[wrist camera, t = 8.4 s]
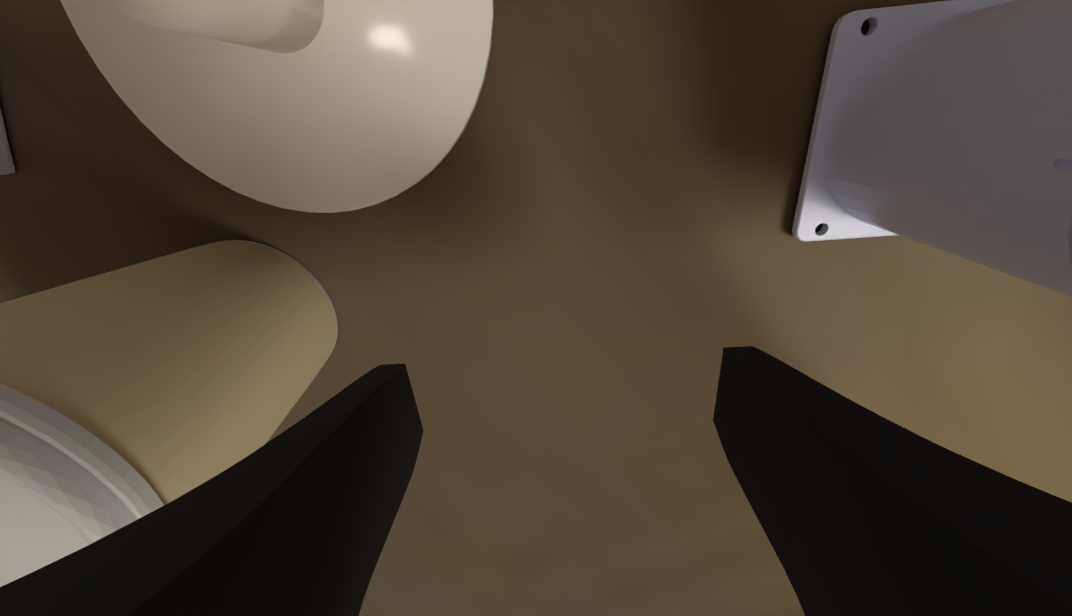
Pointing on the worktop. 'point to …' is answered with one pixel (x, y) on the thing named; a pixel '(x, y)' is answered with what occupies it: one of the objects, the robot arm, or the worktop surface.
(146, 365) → the coffee cup
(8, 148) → the supplement box
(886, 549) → the robot arm
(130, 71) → the lid
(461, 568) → the worktop surface
